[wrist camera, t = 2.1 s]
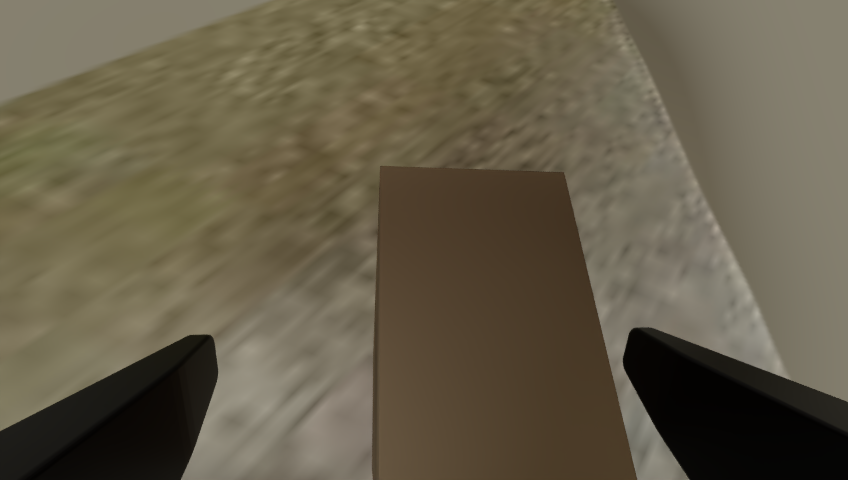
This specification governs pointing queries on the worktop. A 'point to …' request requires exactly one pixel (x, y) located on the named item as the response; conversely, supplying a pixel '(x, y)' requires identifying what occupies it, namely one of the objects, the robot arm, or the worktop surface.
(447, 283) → the wooden block
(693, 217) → the worktop surface
